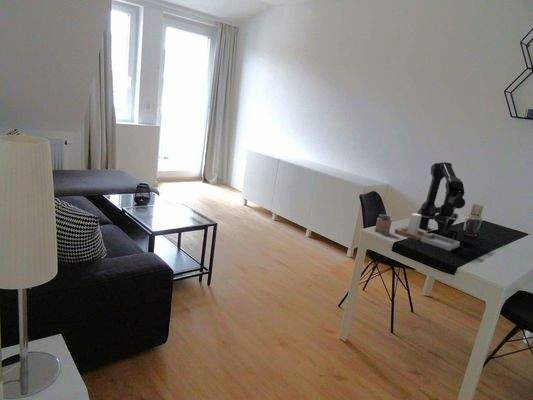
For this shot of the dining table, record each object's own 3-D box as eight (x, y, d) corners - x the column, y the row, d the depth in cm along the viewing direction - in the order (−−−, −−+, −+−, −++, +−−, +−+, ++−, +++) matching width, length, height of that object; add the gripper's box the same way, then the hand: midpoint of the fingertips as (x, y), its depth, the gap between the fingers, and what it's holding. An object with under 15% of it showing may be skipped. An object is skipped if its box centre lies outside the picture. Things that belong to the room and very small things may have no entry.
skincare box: (409, 232, 212) (414, 212, 210) (417, 235, 210) (422, 214, 207) (405, 234, 208) (410, 213, 205) (413, 237, 205) (418, 216, 202)
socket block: (405, 229, 218) (406, 226, 218) (428, 237, 209) (429, 233, 208) (394, 232, 208) (395, 229, 208) (418, 240, 199) (419, 237, 198)
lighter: (388, 232, 207) (392, 215, 205) (389, 234, 204) (393, 216, 202) (374, 230, 208) (377, 213, 206) (375, 231, 205) (378, 214, 202)
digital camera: (452, 238, 214) (455, 226, 213) (462, 241, 210) (465, 229, 209) (445, 240, 207) (448, 228, 206) (455, 243, 203) (458, 231, 202)
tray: (431, 237, 208) (432, 233, 208) (458, 246, 198) (460, 242, 198) (420, 241, 198) (421, 236, 197) (449, 251, 188) (450, 246, 187)
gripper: (440, 198, 205) (434, 225, 209) (427, 201, 192) (420, 229, 195) (461, 204, 198) (454, 231, 201) (449, 206, 184) (442, 236, 188)
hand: (442, 232), depth 197 cm, fingers open, 9 cm apart
